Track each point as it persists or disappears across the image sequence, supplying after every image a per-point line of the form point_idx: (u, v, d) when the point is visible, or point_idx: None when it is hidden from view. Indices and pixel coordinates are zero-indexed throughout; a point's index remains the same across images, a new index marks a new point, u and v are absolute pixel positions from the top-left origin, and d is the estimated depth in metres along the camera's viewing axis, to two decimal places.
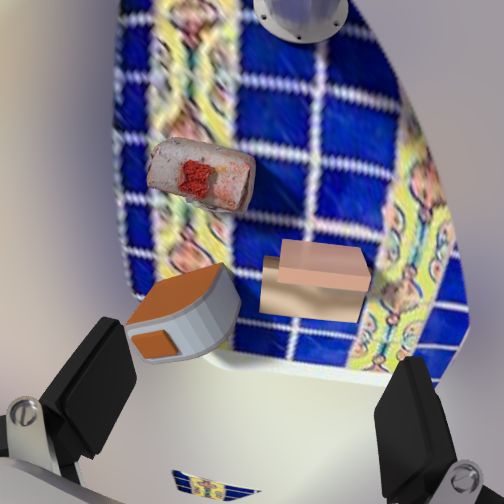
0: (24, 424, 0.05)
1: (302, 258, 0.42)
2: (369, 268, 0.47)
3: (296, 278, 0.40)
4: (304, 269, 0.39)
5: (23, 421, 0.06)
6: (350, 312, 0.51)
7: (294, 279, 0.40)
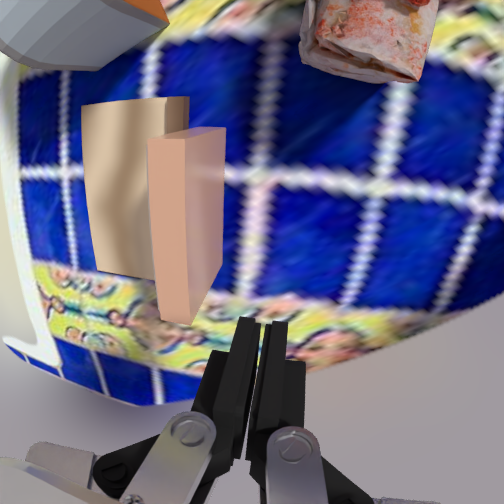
0: (183, 442, 0.06)
1: (202, 181, 0.19)
2: None
3: (161, 181, 0.16)
4: (185, 197, 0.17)
5: (183, 435, 0.06)
6: (109, 258, 0.30)
7: (158, 177, 0.16)
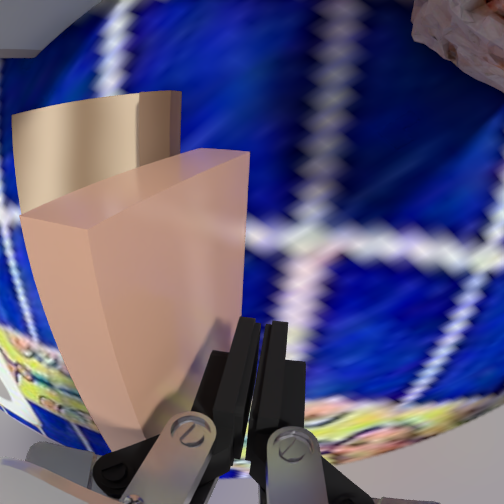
0: (183, 443, 0.06)
1: (182, 291, 0.09)
2: None
3: (66, 322, 0.06)
4: (122, 368, 0.06)
5: (183, 435, 0.06)
6: None
7: (58, 311, 0.06)
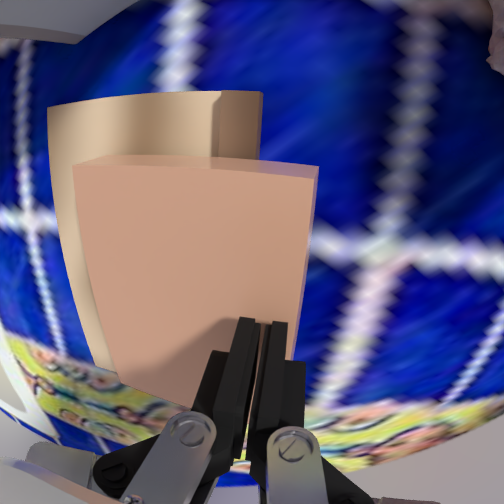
0: (183, 443, 0.06)
1: (139, 247, 0.11)
2: None
3: None
4: (83, 241, 0.12)
5: (183, 435, 0.06)
6: None
7: None
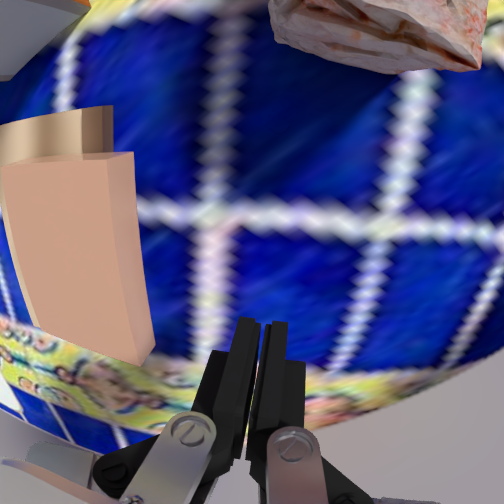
0: (183, 443, 0.06)
1: (35, 216, 0.14)
2: None
3: None
4: (8, 216, 0.15)
5: (183, 435, 0.06)
6: None
7: None
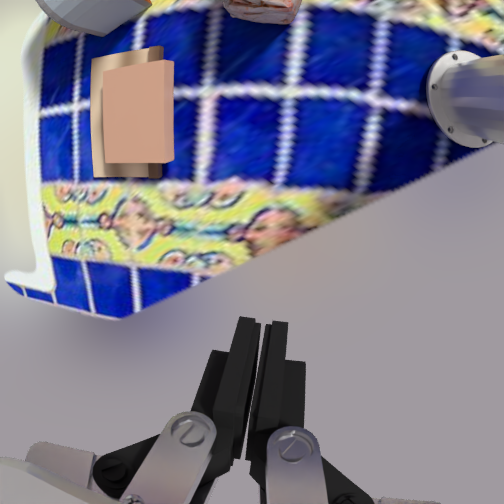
0: (183, 443, 0.06)
1: (121, 90, 0.31)
2: (160, 174, 0.38)
3: None
4: (103, 95, 0.32)
5: (183, 435, 0.06)
6: (104, 165, 0.38)
7: None
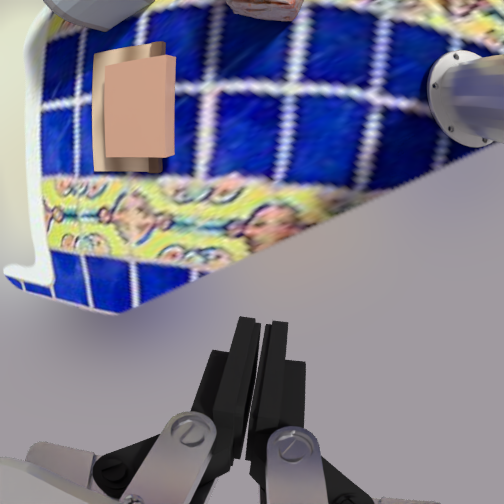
0: (183, 443, 0.06)
1: (123, 85, 0.31)
2: (161, 169, 0.38)
3: None
4: (104, 90, 0.32)
5: (183, 435, 0.06)
6: (104, 159, 0.38)
7: None
